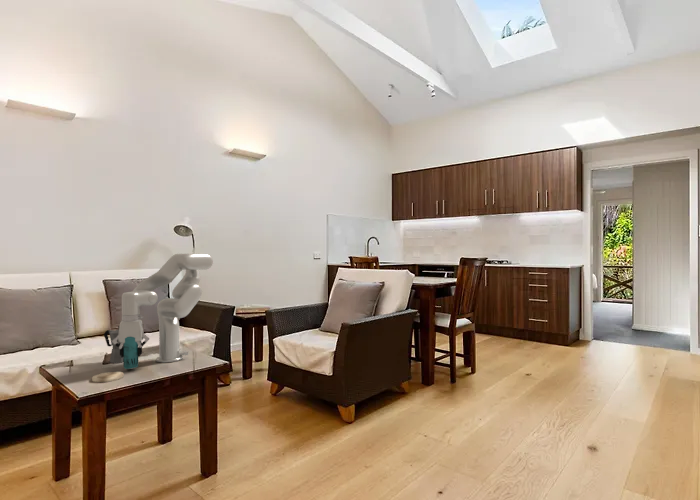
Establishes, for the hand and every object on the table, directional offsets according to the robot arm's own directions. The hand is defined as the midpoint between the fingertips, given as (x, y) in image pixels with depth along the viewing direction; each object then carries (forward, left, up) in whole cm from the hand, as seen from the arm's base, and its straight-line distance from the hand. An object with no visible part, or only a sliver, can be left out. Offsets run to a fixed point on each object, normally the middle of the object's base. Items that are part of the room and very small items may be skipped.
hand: (131, 355), depth 195 cm
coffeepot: (+10, -21, -7) cm, 24 cm away
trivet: (+7, +11, -7) cm, 15 cm away
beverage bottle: (0, 0, -7) cm, 7 cm away
